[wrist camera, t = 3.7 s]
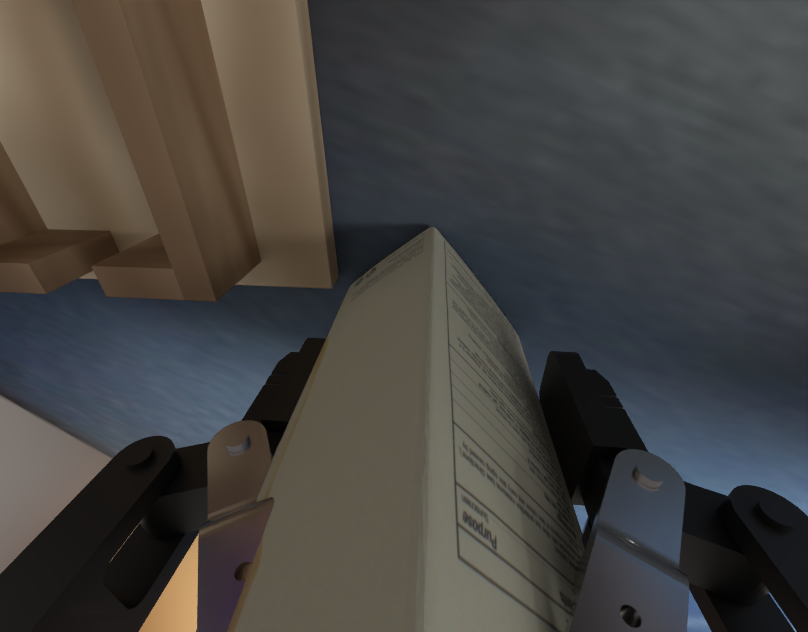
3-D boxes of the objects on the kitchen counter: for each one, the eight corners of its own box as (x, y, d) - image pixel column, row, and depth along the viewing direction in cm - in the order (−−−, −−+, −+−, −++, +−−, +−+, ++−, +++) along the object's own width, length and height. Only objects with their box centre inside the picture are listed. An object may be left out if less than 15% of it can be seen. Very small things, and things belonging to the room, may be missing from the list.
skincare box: (346, 284, 14) (82, 782, 4) (435, 219, 13) (381, 798, 2) (440, 385, 17) (431, 869, 6) (526, 342, 15) (711, 911, 4)
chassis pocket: (272, -300, 7) (123, -638, 4) (338, 277, 14) (304, 334, 11) (-287, -236, 9) (-763, -450, 5) (20, 265, 15) (-100, 313, 12)
